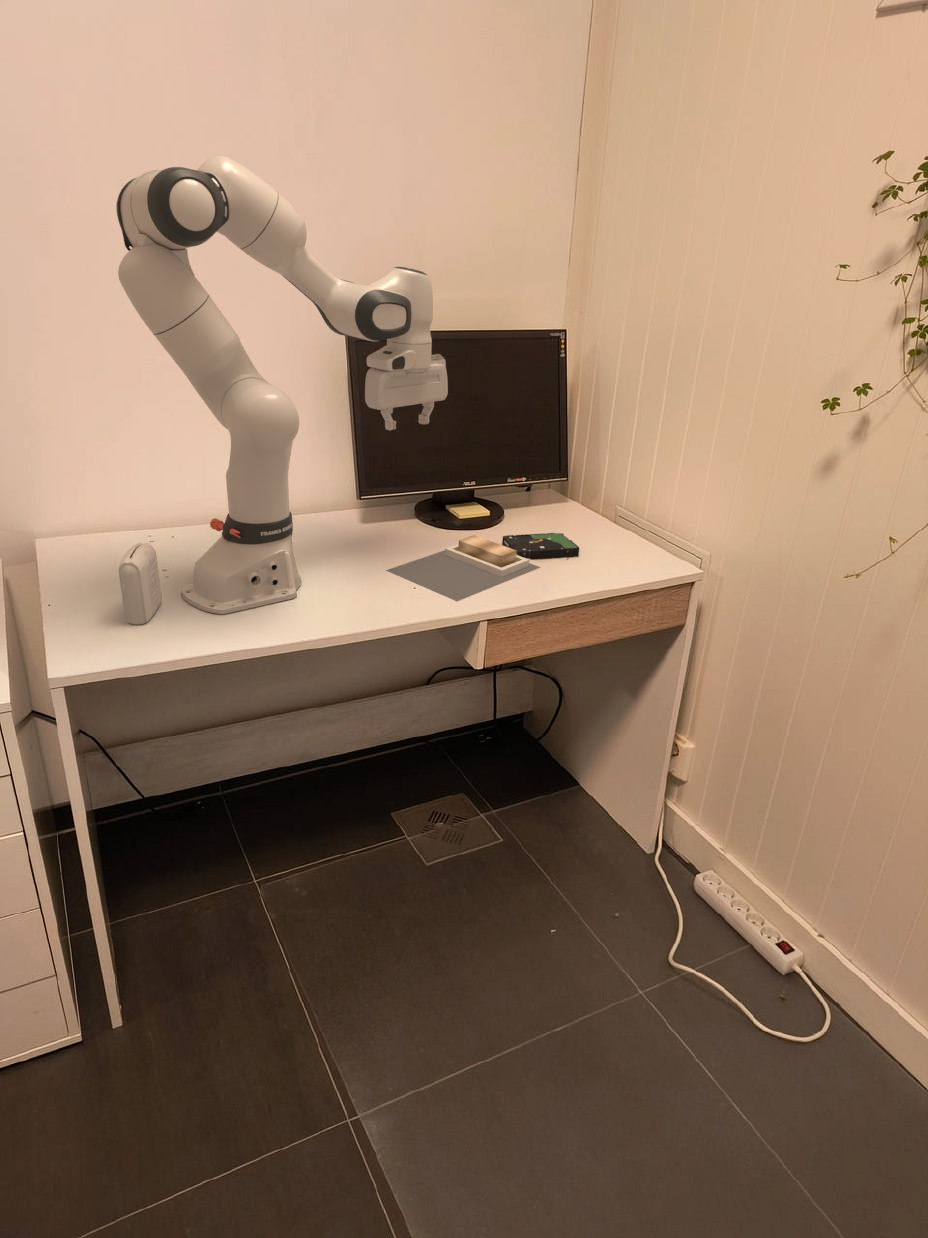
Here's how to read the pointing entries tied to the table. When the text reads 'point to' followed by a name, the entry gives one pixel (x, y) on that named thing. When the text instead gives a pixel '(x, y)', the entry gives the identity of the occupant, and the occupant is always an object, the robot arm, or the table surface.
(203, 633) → the table surface
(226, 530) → the robot arm
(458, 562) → the mat
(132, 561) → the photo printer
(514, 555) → the tan wooden block
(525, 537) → the disk drive
